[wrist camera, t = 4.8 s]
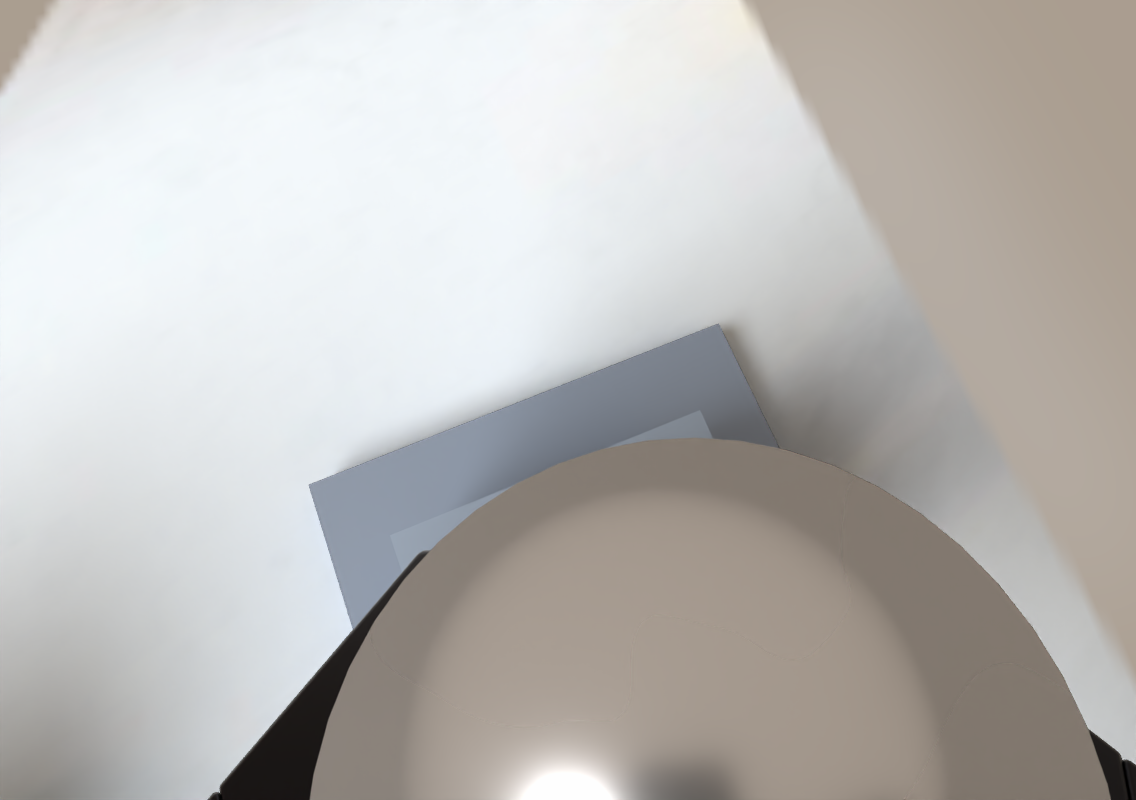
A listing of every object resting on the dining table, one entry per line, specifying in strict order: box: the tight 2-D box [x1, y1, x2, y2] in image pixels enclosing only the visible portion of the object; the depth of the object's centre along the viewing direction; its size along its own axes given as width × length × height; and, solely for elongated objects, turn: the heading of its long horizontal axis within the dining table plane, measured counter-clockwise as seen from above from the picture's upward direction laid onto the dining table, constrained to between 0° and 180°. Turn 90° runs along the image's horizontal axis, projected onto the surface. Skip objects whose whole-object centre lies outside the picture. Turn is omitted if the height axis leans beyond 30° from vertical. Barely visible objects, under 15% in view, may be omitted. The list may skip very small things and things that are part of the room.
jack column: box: [310, 438, 1111, 800], centre depth 9 cm, size 4×4×11 cm
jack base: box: [309, 324, 779, 629], centre depth 15 cm, size 12×12×5 cm
